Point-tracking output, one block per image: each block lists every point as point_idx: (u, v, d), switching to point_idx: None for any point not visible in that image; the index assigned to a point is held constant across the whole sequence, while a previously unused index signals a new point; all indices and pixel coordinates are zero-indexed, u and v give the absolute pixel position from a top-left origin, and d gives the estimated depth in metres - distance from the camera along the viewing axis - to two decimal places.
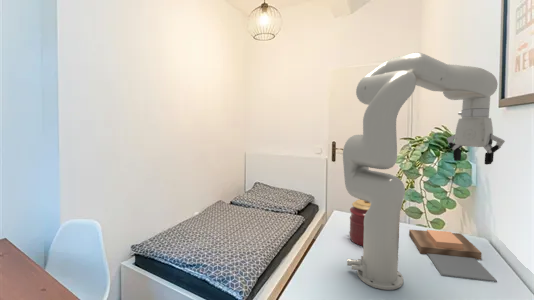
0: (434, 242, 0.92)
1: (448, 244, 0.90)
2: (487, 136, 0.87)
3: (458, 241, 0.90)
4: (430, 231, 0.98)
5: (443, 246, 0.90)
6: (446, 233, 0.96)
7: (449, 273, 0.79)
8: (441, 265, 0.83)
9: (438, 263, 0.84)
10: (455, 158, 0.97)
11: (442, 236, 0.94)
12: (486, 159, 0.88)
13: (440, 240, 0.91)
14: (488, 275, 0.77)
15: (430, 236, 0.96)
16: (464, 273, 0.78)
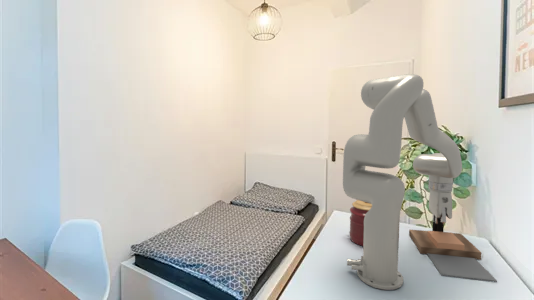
0: (435, 243, 0.91)
1: (449, 245, 0.89)
2: None
3: (459, 242, 0.89)
4: (430, 232, 0.98)
5: (444, 247, 0.89)
6: (447, 234, 0.96)
7: (449, 273, 0.79)
8: (441, 265, 0.83)
9: (438, 263, 0.84)
10: None
11: (443, 237, 0.93)
12: None
13: (441, 241, 0.90)
14: (488, 275, 0.77)
15: (431, 237, 0.95)
16: (464, 273, 0.78)
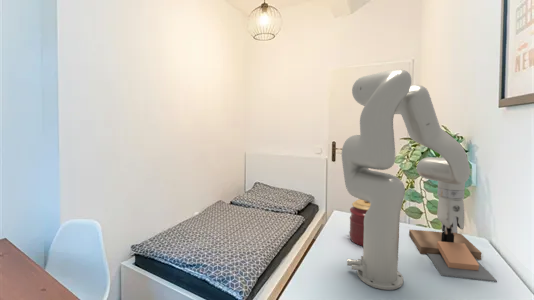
0: (446, 261, 0.83)
1: (462, 265, 0.80)
2: None
3: (473, 261, 0.81)
4: (441, 244, 0.88)
5: (456, 267, 0.81)
6: (459, 246, 0.87)
7: (449, 273, 0.79)
8: (441, 265, 0.83)
9: (438, 263, 0.84)
10: None
11: (455, 253, 0.84)
12: None
13: (453, 259, 0.82)
14: (488, 275, 0.77)
15: (441, 251, 0.86)
16: (464, 273, 0.78)
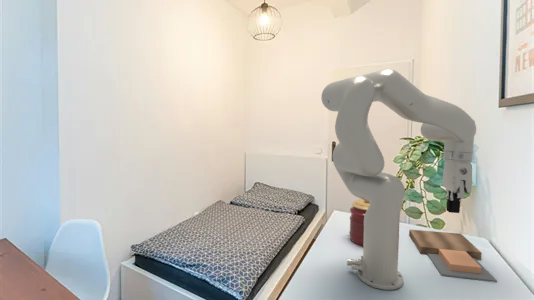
0: (448, 264, 0.82)
1: (464, 267, 0.79)
2: None
3: (475, 264, 0.80)
4: (442, 251, 0.88)
5: (458, 269, 0.79)
6: (461, 253, 0.86)
7: (449, 273, 0.79)
8: (441, 265, 0.83)
9: (438, 263, 0.84)
10: None
11: (456, 258, 0.83)
12: None
13: (455, 262, 0.81)
14: (488, 275, 0.77)
15: (443, 256, 0.85)
16: (464, 273, 0.78)
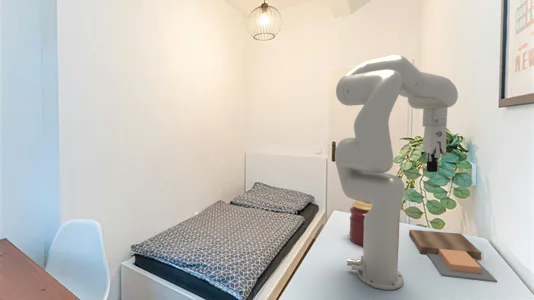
0: (448, 264, 0.82)
1: (464, 267, 0.79)
2: None
3: (475, 264, 0.80)
4: (442, 251, 0.88)
5: (458, 269, 0.79)
6: (461, 253, 0.86)
7: (449, 273, 0.79)
8: (441, 265, 0.83)
9: (438, 263, 0.84)
10: None
11: (456, 258, 0.83)
12: None
13: (455, 262, 0.81)
14: (488, 275, 0.77)
15: (443, 256, 0.85)
16: (464, 273, 0.78)
